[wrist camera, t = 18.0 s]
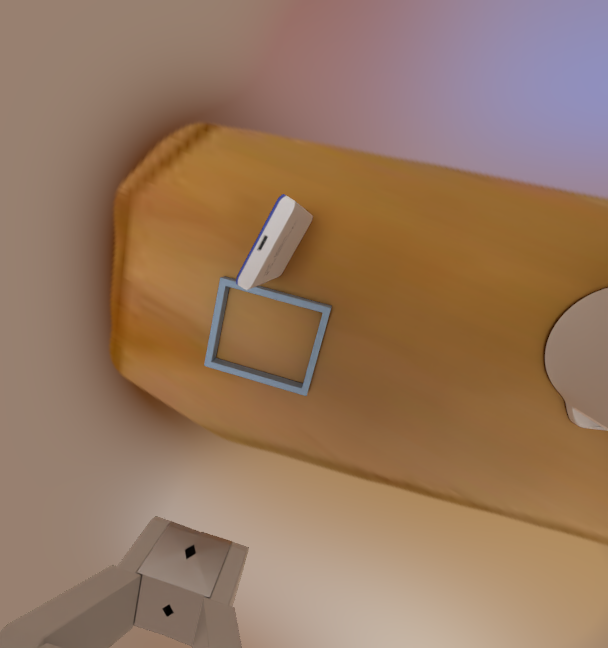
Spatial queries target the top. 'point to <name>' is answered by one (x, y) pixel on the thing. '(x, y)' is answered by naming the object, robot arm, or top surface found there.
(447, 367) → the top surface
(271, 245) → the hard drive
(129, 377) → the top surface
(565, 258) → the top surface
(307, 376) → the frame
